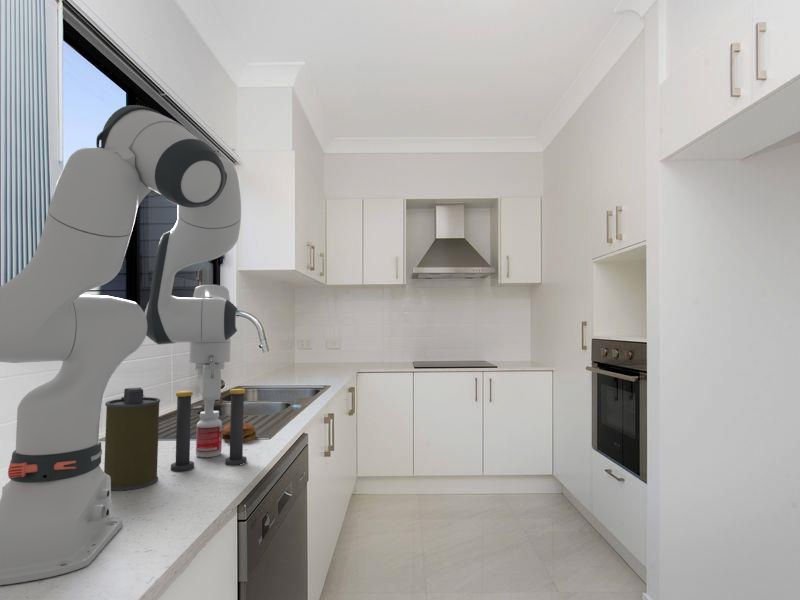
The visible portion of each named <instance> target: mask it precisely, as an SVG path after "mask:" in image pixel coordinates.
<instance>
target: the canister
mask: <svg viewBox="0 0 800 600" xmlns="http://www.w3.org/2000/svg"><path fill="white" fill-rule="evenodd" d="M160 402H161V399H160V398H158V397H151V396H150V397H148V396H147V397H146V396H145V395H144V389H143V388H142V387H131V388H130V387H128V388H124V391H123V396H122V397H120V398H116V399H112V400H109V401H106V402H105V406H106V412H105V413H106V414H105V439H104V441H105V443H104V444H105V445H104V463H103V464H104V468H103V471H104V472H105V473H106V474H108V475H109V476H110V478H111V491H114V492H118V491H120V492H121V491H123V492H124V491H129V490H130V491H131V490H138V489H142V488H145V487H149V486H151V485H153V484H154V483H156V482H158V480H159V477H158V453H159V425H160V424H159V423H160Z"/></svg>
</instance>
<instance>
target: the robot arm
mask: <svg viewBox="0 0 800 600" xmlns="http://www.w3.org/2000/svg"><path fill="white" fill-rule="evenodd" d="M240 189H241V188H240V182H239V177H238V172H237V170H236V168H235V166H234V165H233V164H232V163H231V162H230V161H229V160H228V159H226V158H224V157H222V156H220V155H218V154H217V153H216V152H215V150H214V149H213V148H212V147H211V146H210V145H209V144H208V143H206V142H205V141H203V140H200V139H199V138H198V137H197V136H196V135H194V134H193V133H192V132H191V131H189V130H188V129H187V128H186V127H185V126H183V125H182V124H181V123H179V122H177V121H175V120H173V119H172V118H170V117H167V116H165V115H163V114H162V113H161V112H160V111H158V110H156V109H154V108H150V107H147V106H143V105H137V104H136V105H135V104H132V105H131V104H129V105H125V106H122V107H120V108H118V109H117V110H115V111H114V112H113V113H112V114H111V116H110V117H109V118H108V119H107V121H106V122H105V124H104V126H103V128H102V131H100V132H99V133H98V134H97V136H96V145H95V146H92V147H82V148H80V149H77V150H76V151H74V152H73V153H72V154H71V155H70V156H69V157H68V159H67V161H66V163H65V165H64V166H63V169H62V171H61V173H60V175H59V177H58V179H57V182H56V185H55V187H54V189H53V193H52V196H51V199H50V203H49V207H48V211H47V214H46V218H45V222H44V226H43V228H42V233H41V235H40V239H39V241H38V245H37V247H36V249H35V252H34V255H33V256H32V257H31V259H30V260H29V262H28V263H27V264H26V266H25V267H24V268H23V269H21V271H20V272H19V273H17V274H16V275H15V276H14V277H13V278H11V279H10V280H8V281H7V282H6V283H4V284H3V285H1V286H0V363H8V364H22V363H40V362H41V363H42V362H61V361H62V365H61V367H60V369H59V371H58V373H57V374H56V376H54V377H53V378H52V379H51V380H49V381H47V382H45V383H43V384H40V385H39V386H37V387H35V388H34V389H32V390H31V391H29V392H27V394H24V395H25V396H23V397H22V399H21V400H20V402H19V404H18V406H17V410H16V412H17V413H16V433H15V434H16V435H15V450H13V452H12V454H11V458H10V461H9V466H8V471H7V476H8V478H9V479H10V480H9V481H8V482H7V483H5V485H3V486H2V489H1V497H0V586H3V585H13V584H17V583H18V584H20V583H25V582H26V583H27V582H31V581H36V580H37V581H38V580H41V579H47V578H51V577H55V576H60V575H63V574H67V573H71V572H73V571H77V570H79V569H82V568H85V567H87V566H88V565H90V564H91V563H92V562H93V560H94V559H95V558H96V557H97V556H98V554H99V553H101V551H102V550H103V549H104V548H105V546H106V545H107V544H108V543H109V542H110V540H111V539H113V538H114V537H115V534H117V532H119V530H120V529H121V528H122V527H123V520H122V518H120V517H115V516H112V490H111V478H110V476H109V475H108V474H106V473H105V472H104V469H102V468H101V466H100V465H101V463H102V454H103V449H102V442H101V441H100V440H99V436H100V434H99V433H100V423H101V422H100V420H101V412H102V402H103V397H104V393H105V391H106V388H107V385H108V383H109V381H110V379H111V378H112V376H113V374H114V373H115V372H116V370H117V369H118V368H119V366H120V365H121V364H122V363H123V362H124V361H125V360H126V359H127V358H128V357H130V356H131V355H132V354H133V353H135V352H136V351H137V350H138V349H140V347H142V344H143V343H144V341H145V339H146V337H147V338H149V339H150V340H151V341H153V342H154V343H155V344H157V345H169V344H175V343H189V363H190V364H195V365H194V366H195V368H194V369H195V370H196V371H197V376H198V385H199V390H200V394H201V396H202V400H203V402H204V411H205V415H206V416H210V415H213V413H214V411H215V410H214V409H215V408H214V407H215V402H216V401H218V400H220V399H221V393H222V370H224V369H225V363H230V362H231V337H233V336H234V335H235V334H236V333H237V332H238V328H237V313H238V308H237V307H236V306H235V305H234V303H233V302H231V298H230V291H229V289H228V288H227V287H225V286H223V285H220V284H209V283H208V284H202V285H199V286H196V287H195V288H194V292H193V295H192V297H179V296H175V295H173V294H172V292H173V288H174V287H173V286H174V281H175V276H176V274H177V273H178V272H179V271H181V270H183V269H185V268H188V267H189V266H193V265H196V264H197V265H198V264H200V263H204V262H209V261H213V260H215V259H218V258H220V257H222V256H224V255H226V254H227V253H228V252H230V251H231V250H232V249H233V248H234V247H235V245H236V244H237V242H238V240H239V236H240V229H241V219H242V203H241V202H242V201H241V191H240ZM151 191H154V192H156V193H158V194H159V195H161V197H163V198H164V199H165V200H167V201H168V202H170V203H172V204H175V205H177V220H176V222H175V224H174V226H173V228H171V230H169V231H166V232H164V233H163V234H162V236H161V237H160V240H159V243H158V245H157V249H156V255H155V259H154V265H153V271H152V279H151V285H150V291H149V300H148V303H147V305H146V308H145V310H143V308H142V307H141V305H139V304H138V303H137V302H136V301H133V300H130V299H124V298H122V297H121V298H120V297H115V296H110V295H101V294H99V295H98V294H85V293H87V292H88V291H90V290H93V289H96V288H98V287H101V286H104V285H105V284H107V283H109V282H111V281H113V279H115V277H116V276H118V274H119V273H120V271H121V269H122V266H123V262H124V259H125V255H126V253H127V250H128V247H129V243H130V240H131V236H132V232H133V228H134V225H135V222H136V217H137V213H138V208H139V207H140V205H141V203H142V201H144V199H145V198H146V196H147V195H148V194H149V193H150V192H151Z"/></svg>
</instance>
